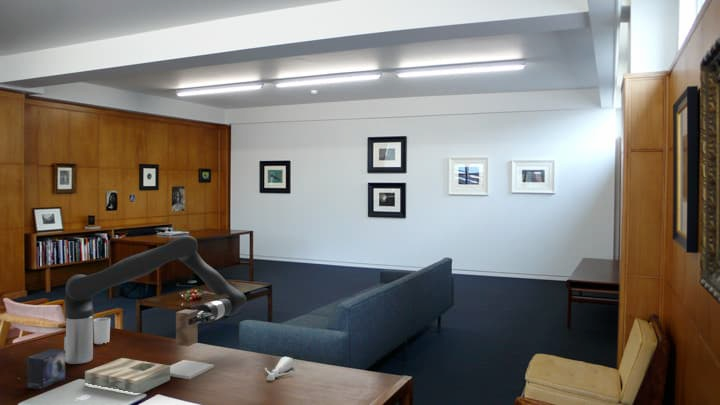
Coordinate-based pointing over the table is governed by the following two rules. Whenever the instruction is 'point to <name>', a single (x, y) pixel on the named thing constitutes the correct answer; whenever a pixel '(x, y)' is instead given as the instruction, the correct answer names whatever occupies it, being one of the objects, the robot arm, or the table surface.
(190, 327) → the brown wooden block
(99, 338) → the drinking glass
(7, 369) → the table surface
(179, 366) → the grey pad
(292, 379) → the table surface
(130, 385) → the slotted wooden base
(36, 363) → the small box
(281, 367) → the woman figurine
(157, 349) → the table surface
